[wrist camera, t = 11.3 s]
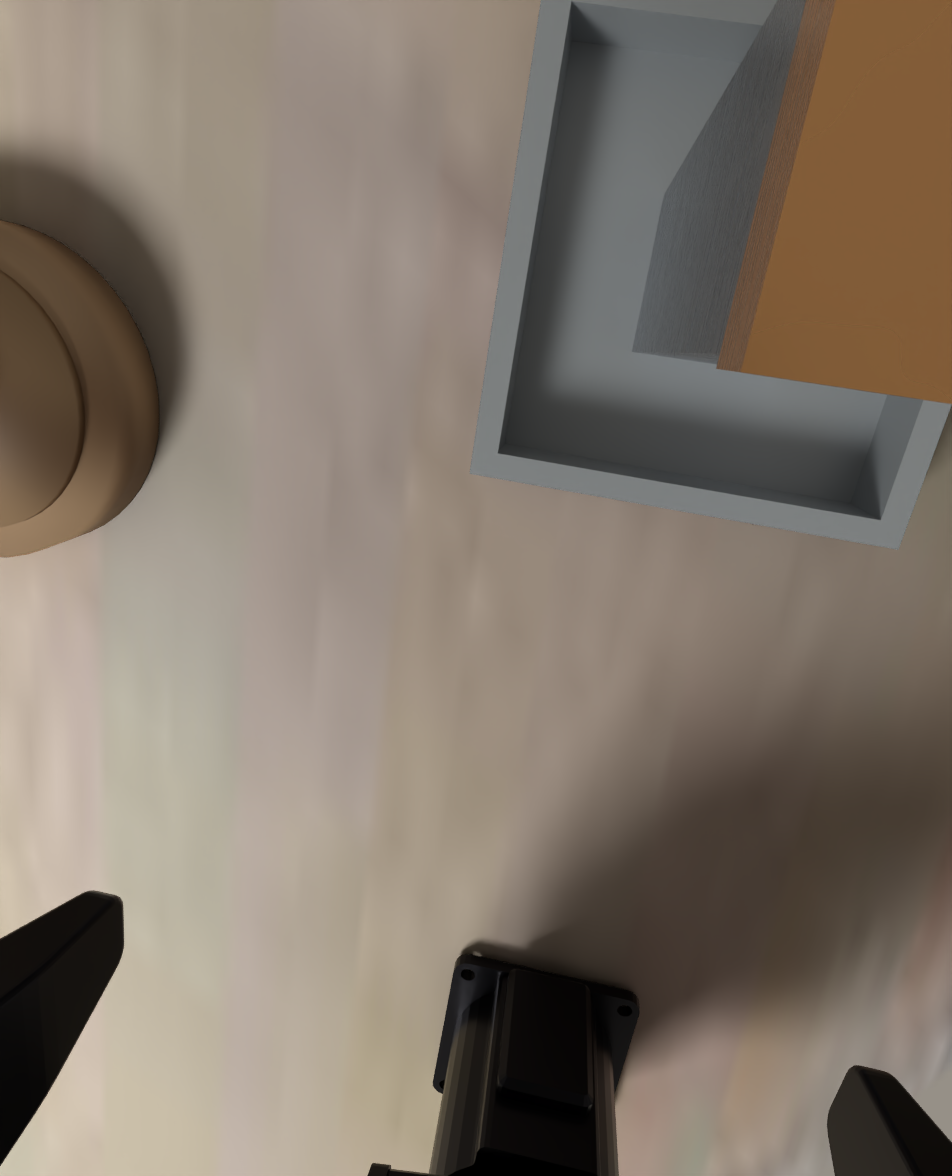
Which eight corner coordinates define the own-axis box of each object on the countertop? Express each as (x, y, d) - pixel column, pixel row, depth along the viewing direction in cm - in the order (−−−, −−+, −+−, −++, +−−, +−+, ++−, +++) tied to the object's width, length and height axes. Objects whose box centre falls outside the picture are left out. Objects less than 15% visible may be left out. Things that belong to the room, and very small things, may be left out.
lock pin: (778, 380, 17) (1268, 451, 5) (624, 356, 18) (740, 372, 5) (825, 209, 16) (1622, -239, 4) (658, 187, 17) (911, -294, 4)
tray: (857, 524, 19) (897, 549, 17) (481, 459, 20) (469, 473, 17) (1012, 76, 16) (1089, 27, 13) (550, 16, 16) (547, -40, 14)
